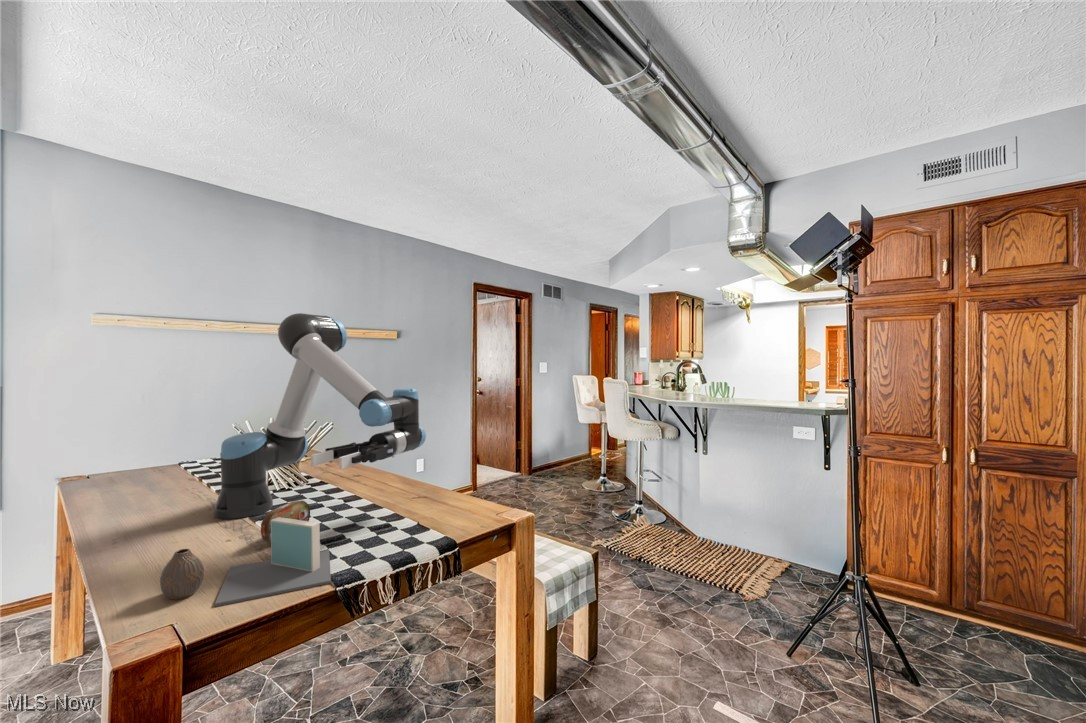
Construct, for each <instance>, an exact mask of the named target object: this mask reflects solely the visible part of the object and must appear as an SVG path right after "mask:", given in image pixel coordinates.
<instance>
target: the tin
mask: <svg viewBox="0 0 1086 723" xmlns="http://www.w3.org/2000/svg"><path fill="white" fill-rule="evenodd" d="M278 517H281V518H288V519H295V520H302V521H309V522H310V518H311V508H310V506H309V504H308V503H307V502H306V501H305V500H295V501H290V502H288V503H285V504H284V505H281V506H280V507H276V508H274V509H272V510H271V511H268V512H267V513H266V514H265V515H264V517H263V519H262V520H261V524H260V536H261V538H262V540H263V541H264V542H266V543H268V544H269V543H270V544H271V520H272V519H275V518H278Z"/></svg>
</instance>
